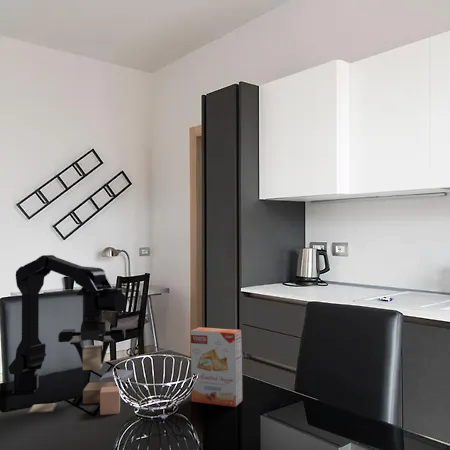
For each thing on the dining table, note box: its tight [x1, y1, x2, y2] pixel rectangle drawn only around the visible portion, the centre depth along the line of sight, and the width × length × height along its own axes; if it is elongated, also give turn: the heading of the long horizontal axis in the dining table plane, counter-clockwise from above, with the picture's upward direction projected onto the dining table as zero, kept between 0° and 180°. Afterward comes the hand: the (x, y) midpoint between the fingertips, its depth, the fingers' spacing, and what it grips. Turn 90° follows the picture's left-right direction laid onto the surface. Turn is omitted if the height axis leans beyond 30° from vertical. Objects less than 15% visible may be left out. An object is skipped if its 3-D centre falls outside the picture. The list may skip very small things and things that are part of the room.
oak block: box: [82, 344, 103, 371], centre depth 142 cm, size 5×5×6 cm
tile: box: [27, 402, 58, 415], centre depth 136 cm, size 7×7×1 cm
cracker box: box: [190, 326, 243, 408], centre depth 139 cm, size 14×6×21 cm, turn 68°
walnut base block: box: [82, 381, 115, 405], centre depth 144 cm, size 8×8×4 cm
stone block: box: [98, 369, 134, 386], centre depth 160 cm, size 12×5×10 cm
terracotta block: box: [99, 386, 121, 416], centre depth 133 cm, size 5×5×6 cm
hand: (92, 363), depth 142 cm, fingers closed on oak block, 5 cm apart
